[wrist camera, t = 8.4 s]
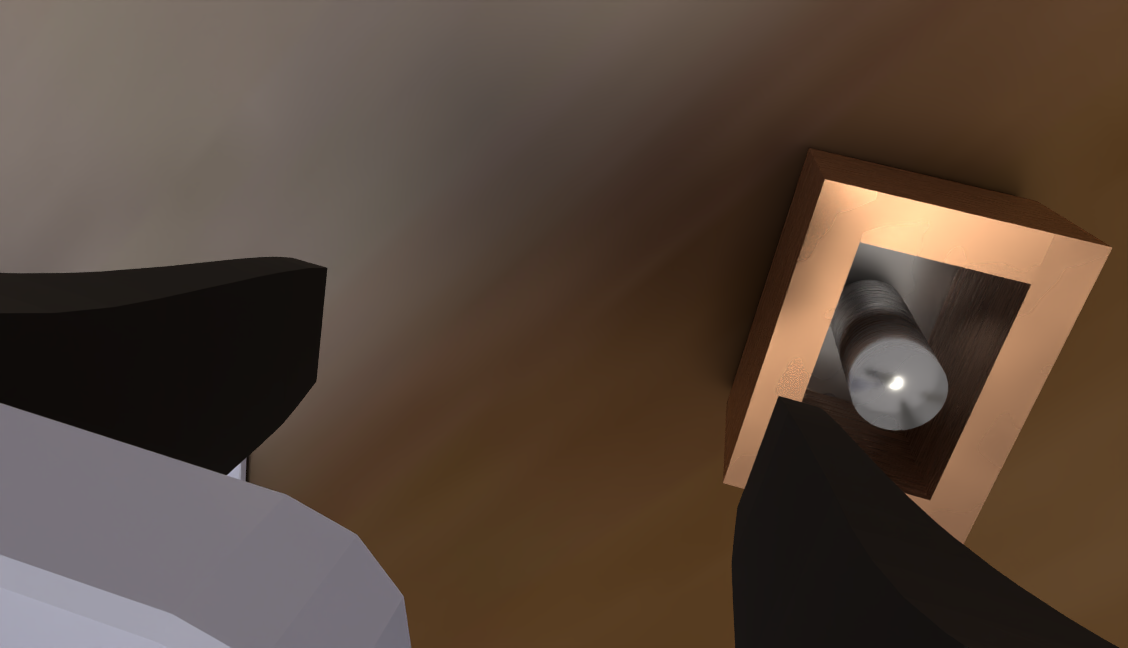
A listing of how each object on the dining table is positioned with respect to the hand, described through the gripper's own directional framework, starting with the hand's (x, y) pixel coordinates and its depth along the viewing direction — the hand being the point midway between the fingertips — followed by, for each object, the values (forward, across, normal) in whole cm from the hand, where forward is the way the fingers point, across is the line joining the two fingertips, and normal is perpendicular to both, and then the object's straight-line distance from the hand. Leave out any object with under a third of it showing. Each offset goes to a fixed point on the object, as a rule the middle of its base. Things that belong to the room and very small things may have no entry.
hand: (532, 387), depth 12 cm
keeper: (+10, -6, 0) cm, 12 cm away
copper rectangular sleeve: (+9, -6, 0) cm, 11 cm away
